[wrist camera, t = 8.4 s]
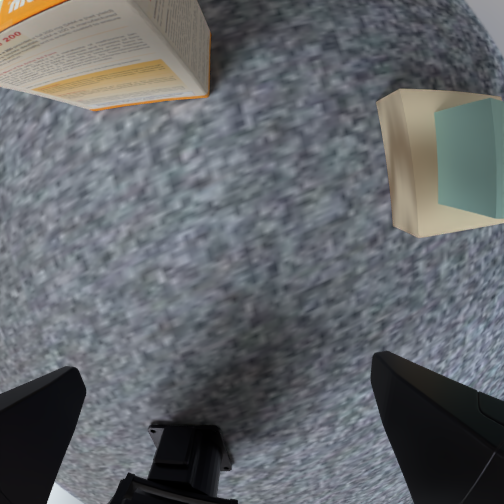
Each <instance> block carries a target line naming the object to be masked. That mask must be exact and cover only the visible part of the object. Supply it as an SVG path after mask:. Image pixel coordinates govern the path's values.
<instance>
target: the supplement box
mask: <svg viewBox="0 0 504 504" xmlns="http://www.w3.org/2000/svg"><path fill="white" fill-rule="evenodd" d="M210 49H211V32H210V30H209V27H208V25H207V23H206V20H205V18H204V15H203V13H202V11H201V9H200V6H199V4H198V2H197V0H0V87H3V88H8V89H13V90H17V91H21V92H26V93H30V94H34V95H38V96H42V97H46V98H50V99H53V100H58V101H61V102H65V103H68V104H72V105H75V106H79V107H82V108H85V109H89V110H92V111H98V110H105V109H111V108H117V107H123V106H130V105H138V104H146V103H154V102H161V101H170V100H180V99H196V98H207V97H209V89H210Z"/></svg>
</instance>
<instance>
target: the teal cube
mask: <svg viewBox="0 0 504 504" xmlns="http://www.w3.org/2000/svg"><path fill="white" fill-rule="evenodd" d="M434 118H435V128H436V141H437V160H438V204H440V205H445V206H449V207H453V208H457V209H461V210H465V211H469V212H473V213H476V214H480V215H484V216H488V217H491V218H495V219H504V102H503V101H500V100H497V99H493V98H487V99H483V100H479V101H475V102H471V103H467V104H463V105H459V106H456V107H452V108H448V109H445V110H441V111H438V112H434Z"/></svg>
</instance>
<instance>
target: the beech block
mask: <svg viewBox="0 0 504 504" xmlns="http://www.w3.org/2000/svg"><path fill="white" fill-rule="evenodd" d="M487 98H493V99H497V100H500V101H502V99H501V97H498V96H491V95H484V94H476V93H467V92H456V91H444V90H426V89H398V90H396V91H394V92H393V93H391V94H389V95H387V96H385V97H384V98H382V99H380V100H378V101H376V104H377V109H378V114H379V120H380V125H381V131H382V137H383V143H384V149H385V156H386V163H387V170H388V178H389V187H390V196H391V207H392V219H393V226H394V227H396V228H398V229H400V230H403V231H405V232H407V233H409V234H411V235H413V236H415V237H417V238H423V237H428V236H434V235H440V234H446V233H451V232H457V231H463V230H468V229H474V228H479V227H485V226H490V225H496V224H501V223H504V219H495V218H491V217H488V216H484V215H480V214H476V213H473V212H469V211H465V210H461V209H457V208H453V207H449V206H445V205H440V204H438V160H437V141H436V128H435V118H434V112H438V111H441V110H445V109H448V108H452V107H456V106H459V105H463V104H467V103H471V102H475V101H479V100H483V99H487Z"/></svg>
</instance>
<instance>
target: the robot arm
mask: <svg viewBox="0 0 504 504" xmlns="http://www.w3.org/2000/svg"><path fill="white" fill-rule="evenodd" d="M370 378H371V385H372V388H373V392H374V395H375V399H376V402H377V406H378V409H379V413H380V417H381V420H382V423H383V426H384V429H385V432H386V434H387V436H388V439H389V441H390V444H391V446H392V448H393V451H394V453H395V456H396V458H397V461H398V463H399V466H400V468H401V471H402V473H403V476H404V478H405V481H406V483H407V486H408V489H409V491H410V494H411V496H412V499H413V502H414V504H504V401H502V400H500V399H497V398H494V397H492V396H489V395H487V394H485V393H482V392H480V391H479V392H477V390H475V389H473V388H470V387H468V386H466V385H463V384H461V383H459V382H456V381H454V380H452V379H449V378H447V377H445V376H443V375H440V374H438V373H436V372H434V371H431V370H429V369H427V368H425V367H422V366H420V365H418V364H416V363H413V362H411V361H409V360H407V359H405V358H402V357H400V356H398V355H396V354H394V353H391V352H389V351H382V352H377V353H374V355H373V357H372V367H371V377H370ZM85 396H86V387H85V385H84V382H83V380H82V377H81V375H80V373H79V370H78V369H77V368H76V367H70V366H65V367H63V368H60V369H58V370H56V371H53V372H51V373H49V374H46V375H44V376H42V377H39V378H37V379H35V380H32V381H30V382H28V383H25V384H23V385H21V386H18V387H16V388H14V389H11V390H9V391H6V392H4V393H2V394H0V504H47V501H48V498H49V495H50V492H51V490H52V487H53V484H54V481H55V479H56V476H57V473H58V471H59V468H60V466H61V463H62V460H63V458H64V455H65V453H66V450H67V448H68V445H69V443H70V441H71V438H72V436H73V433H74V431H75V428H76V425H77V421H78V418H79V415H80V412H81V409H82V405H83V402H84V399H85ZM215 431H216V432H215ZM148 432H149V434H150V436H151V438H152V440H153V442H154V444H155V446H156V448H157V450H156V453H155V456H154V459H153V463H152V466H151V469H150V472H149V475H148V478H147V479H144V478H140V477H137V476H135V474H132V473H129V472H128V474H127V476H126V478H125V479H123V480H121V481H120V483H119V486H118V488H117V491H116V493H115V495H114V496H113V497H112V499H111V500H110V501H109V503H108V504H238V500H235V499H230V500H229V499H223V498H218V497H217V491H218V483H219V476H220V471H230V470H231V469H232V464H231V461H230V458H229V455H228V452H227V449H226V446H225V443H224V440H223V436H222V433H221V430H220V428H219V427H217V426H169V425H150V426H149V428H148Z"/></svg>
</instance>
